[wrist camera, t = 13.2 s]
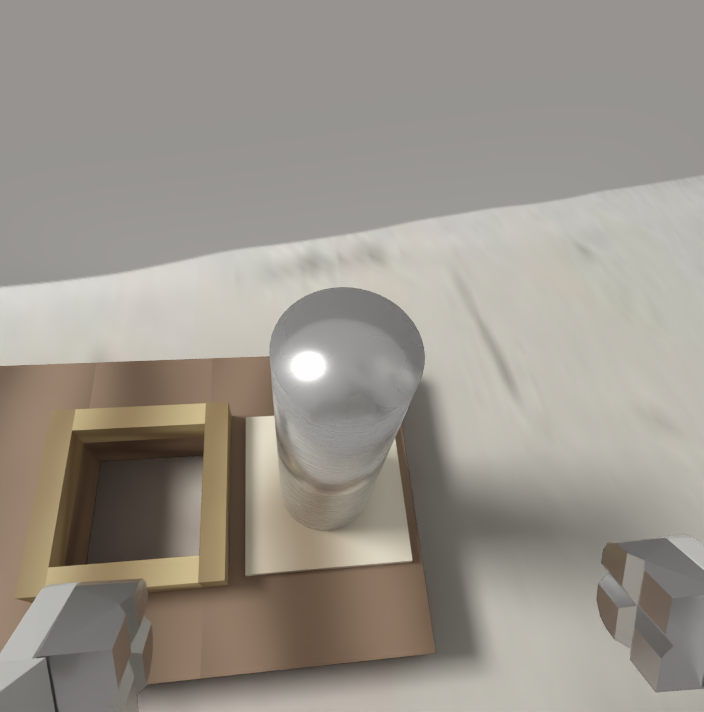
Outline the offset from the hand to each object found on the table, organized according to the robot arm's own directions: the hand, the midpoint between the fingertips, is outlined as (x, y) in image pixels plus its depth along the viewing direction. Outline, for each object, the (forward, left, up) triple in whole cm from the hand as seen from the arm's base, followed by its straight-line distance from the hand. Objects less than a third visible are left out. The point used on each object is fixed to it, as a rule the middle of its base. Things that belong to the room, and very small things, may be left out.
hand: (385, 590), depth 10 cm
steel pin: (0, -6, -14) cm, 15 cm away
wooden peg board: (+8, -6, -17) cm, 19 cm away
